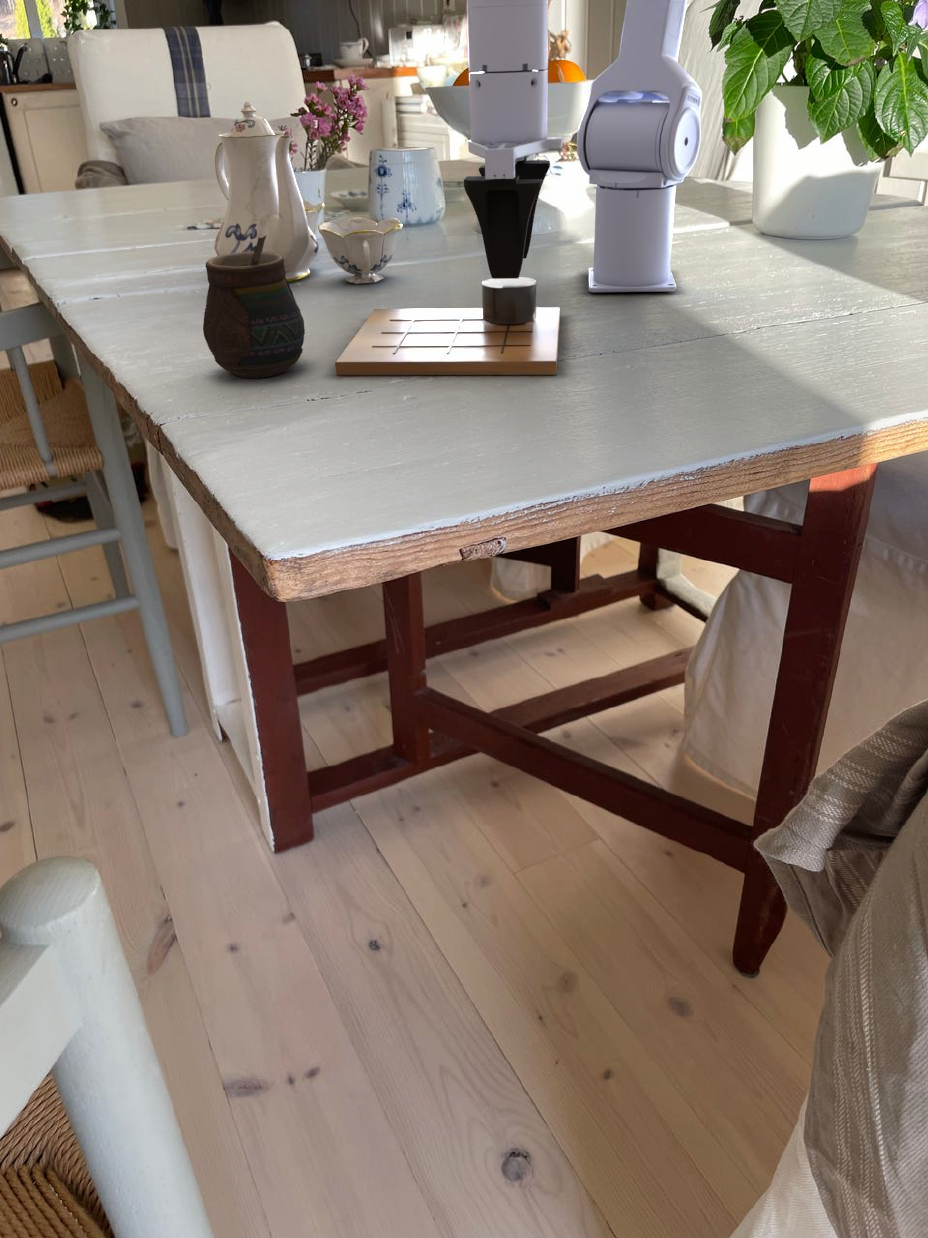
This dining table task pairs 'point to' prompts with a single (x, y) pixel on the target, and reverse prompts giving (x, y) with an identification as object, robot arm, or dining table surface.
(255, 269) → the mate gourd
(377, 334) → the board
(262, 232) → the chinaware
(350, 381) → the dining table surface
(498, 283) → the short grey cylinder
